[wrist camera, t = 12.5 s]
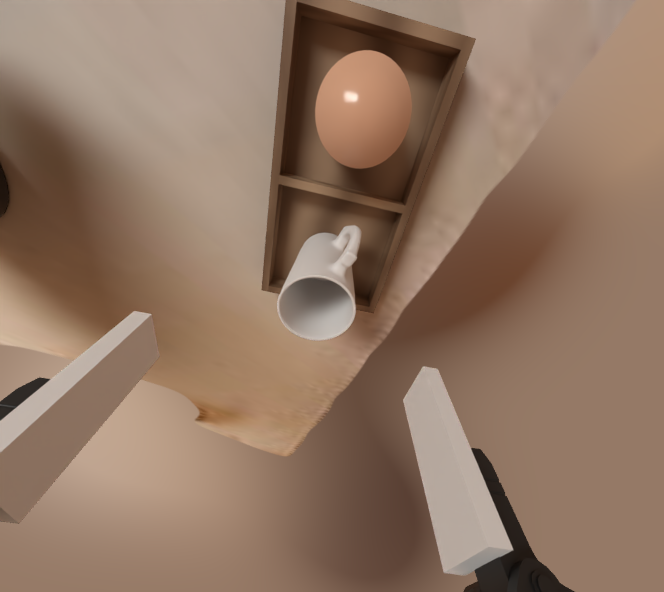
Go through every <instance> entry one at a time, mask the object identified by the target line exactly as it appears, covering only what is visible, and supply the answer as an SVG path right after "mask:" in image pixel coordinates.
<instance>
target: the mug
mask: <svg viewBox="0 0 664 592" xmlns="http://www.w3.org/2000/svg"><path fill="white" fill-rule="evenodd" d="M360 241H361V229H360V228H359V227H357V226H355V225H351V226H345V227H344V228H343V229H342V231H341V232H340V234H339V235H338V236H337V235H334V234H331V233H318V234H315V235H313V236H311V237H310V238H309V239H307V240H306V242H305V243H304V244H303V246H302V248H301V250H300V252H299V254H298V256H297V258H296V260H295V263H294V265H293V267H292V269H291V271H290V273H289V275H288V277H287V279H286V281H285V283H284V285H283V288H282V290H281V293H280V295H279V297H278V302H277V310H278V315H279V317H280V319H281V321H282V323H283V324H284V326H285V327H286V328H287V329H288V330H289V331H291V332H292V333H293V334H295V335H297V336H299V337H301V338H304V339H308V340H314V341H322V340H329V339H332V338H335V337H337V336H339V335H341V334H343V333H344V332H345V331H346V330H347V329H348V328H349V327H350V326H351V324H352V323H353V321H354V318H355V314H356V304H355V292H354V283H353V274H352V264H353V263H354V262H355V261H356V259H357V253H358V249H359V246H360Z"/></svg>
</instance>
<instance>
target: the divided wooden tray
mask: <svg viewBox="0 0 664 592" xmlns="http://www.w3.org/2000/svg"><path fill="white" fill-rule="evenodd" d="M475 40H476V39H475V38H471V37H468V36H465V35H461V34H458V33H455V32H451V31H448V30H445V29H441V28H438V27H435V26H431V25H428V24H425V23H421V22H418V21H415V20H411V19H408V18H405V17H401V16H398V15H395V14H391V13H388V12H385V11H381V10H378V9H375V8H371V7H368V6H365V5H361V4H358V3H355V2H351V1H348V0H286V4H285V16H284V28H283V40H282V52H281V64H280V76H279V88H278V100H277V112H276V124H275V136H274V148H273V160H272V172H271V184H270V196H269V208H268V220H267V232H266V244H265V256H264V268H263V280H262V290H264V291H268V292H273V293H278V294H280V293H281V290H282V288H283V285H284V283H285V281H286V279H287V277H288V275H289V273H290V271H291V269H292V267H293V265H294V263H295V260H296V258H297V256H298V254H299V252H300V250H301V248H302V246H303V244H304V243H305V242H306V240H307V239H309V238H310V237H311V236H313V235H315V234H318V233H331V234H334V235H337V236H338V235H339V234H340V232H341V231H342V229H343V228H344V227H345V226H351V225H355V226H357V227H359V228H360V229H361V241H360V246H359V249H358V253H357V259H356V261H355V262H354V263H353V264H352V274H353V283H354V292H355V304H356V310H361V311H365V312H370V313H374V310H375V308H376V305H377V302H378V300H379V297H380V294H381V292H382V289H383V286H384V284H385V281H386V278H387V276H388V273H389V270H390V268H391V265H392V262H393V260H394V257H395V254H396V252H397V249H398V246H399V243H400V241H401V238H402V235H403V233H404V230H405V227H406V225H407V222H408V219H409V217H410V214H411V211H412V209H413V206H414V203H415V201H416V198H417V195H418V193H419V190H420V187H421V185H422V182H423V179H424V177H425V174H426V171H427V168H428V166H429V163H430V160H431V158H432V155H433V152H434V150H435V147H436V144H437V142H438V139H439V136H440V134H441V131H442V128H443V126H444V123H445V120H446V118H447V115H448V112H449V110H450V107H451V104H452V101H453V99H454V96H455V93H456V91H457V88H458V85H459V83H460V80H461V77H462V75H463V72H464V69H465V67H466V64H467V61H468V59H469V56H470V53H471V51H472V48H473V45H474V43H475ZM363 50H371V51H376V52H380V53H382V54H384V55H386V56H388V57H389V58H391V59H392V60H393V61H394V62H396V64H397V65H398V66H399V67H400V68H401V70H402V71H403V73H404V75H405V77H406V79H407V81H408V84H409V87H410V92H411V99H412V113H411V120H410V124H409V128H408V130H407V133H406V135H405V137H404V139H403V141H402V143H401V144H400V146H399V147H398V149H397V150H396V151H395V152H394V153H393V154H392V155H391V156H390V157H389V158H388V159H386V160H385V161H384V162H382V163H380V164H378V165H376V166H373V167H369V168H363V169H358V168H351V167H348V166H345V165H343V164H341V163H339V162H338V161H336V160H335V159H334V158H333V157H332V156H331V155H330V154H329V153H328V152H327V150H326V149H325V147H324V146H323V144H322V142H321V140H320V137H319V134H318V131H317V127H316V120H315V107H316V100H317V95H318V92H319V89H320V86H321V84H322V82H323V80H324V78H325V76H326V75H327V73H328V72H329V70H330V69H331V68H332V67H333V66H334V65H335V64H336V63H337V62H338V61H339V60H341V59H342V58H343V57H345V56H347V55H349V54H351V53H354V52H357V51H363Z"/></svg>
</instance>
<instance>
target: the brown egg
mask: <svg viewBox="0 0 664 592" xmlns="http://www.w3.org/2000/svg"><path fill="white" fill-rule="evenodd" d="M411 113H412V99H411V92H410V87H409V84H408V81H407V79H406V77H405V75H404V73H403V71H402V70H401V68H400V67H399V66H398V65H397V64H396V62H394V61H393V60H392V59H391V58H389V57H388V56H386V55H384V54H382V53H380V52H376V51H371V50H363V51H357V52H354V53H351V54H349V55H347V56H345V57H343V58H342V59H341V60H339V61H338V62H337V63H336V64H335V65H334V66H333V67H332V68H331V69H330V70H329V72H328V73H327V75H326V76H325V78H324V80H323V82H322V84H321V86H320V89H319V92H318V95H317V100H316V107H315V120H316V127H317V131H318V134H319V137H320V140H321V142H322V144H323V146H324V147H325V149H326V150H327V152H328V153H329V154H330V155H331V156H332V157H333V158H334V159H335V160H336V161H338V162H339V163H341V164H343V165H345V166H348V167H351V168H358V169H363V168H369V167H373V166H376V165H378V164H380V163H382V162H384V161H385V160H386V159H388V158H389V157H390V156H391V155H392V154H393V153H394V152H395V151H396V150H397V149H398V147H399V146H400V144H401V143H402V141H403V139H404V137H405V135H406V133H407V130H408V128H409V124H410V120H411Z"/></svg>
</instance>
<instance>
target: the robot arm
mask: <svg viewBox="0 0 664 592" xmlns="http://www.w3.org/2000/svg"><path fill="white" fill-rule="evenodd" d="M7 204H8V188H7V183H6V180H5V177H4V174H3V172H2V169H1V167H0V217H1V216H2V215H3V213H4V212H5V210H6V208H7ZM159 357H160V356H159V350H158V345H157V339H156V334H155V329H154V323H153V318H152V314H149V313H143V312H138V311H133V312H132V313H131V314H130V315H129V316H127V317H126V318H125V319H124V320H122V321H121V322H120V323H119V324H118V325H116V326H115V327H114V328H113V329H111V330H110V331H109V332H108V333H107V334H105V335H104V336H103V337H102V338H101V339H99V340H98V341H97V342H96V343H94V344H93V345H92V346H91V347H90V348H88V349H87V350H86V351H85V352H83V353H82V354H81V355H80V356H79V357H77V358H76V359H75V360H74V361H73V362H71V363H70V364H69V365H68V366H66V367H65V368H64V369H63V370H62V371H60V372H59V373H58V374H57V375H56V376H54V377H53V378H52V379H45V378H37V379H36V380H34V381H32V382H30V383H28V384H26V385H24V386H22V387H20V388H18V389H16V390H15V391H14V392H12V393H11V394H10V395H8V396H7V397H6V398H4V399H3V400H2V401H1V402H0V521H1V522H10V523H18V524H19V523H20V522H21V521H22V520H23V518H24V517H25V516H26V515H27V514H28V512H29V511H30V510H31V509H32V508H33V507H34V505H35V504H36V503H37V502H38V501H39V499H40V498H41V497H42V496H43V494H44V493H45V492H46V491H47V490H48V489H49V488H50V486H51V485H52V484H53V482H55V480H56V479H57V478H58V477H59V476H60V474H61V473H62V472H63V471H64V470H65V469H66V467H67V466H68V465H69V464H70V463H71V461H72V460H73V459H74V458H75V457H76V455H77V454H78V453H79V452H80V451H81V450H82V448H83V447H84V446H85V445H86V444H87V442H88V441H89V440H90V439H91V438H92V436H93V435H94V434H95V433H96V432H97V431H98V429H99V428H100V427H101V426H102V424H103V423H104V422H105V421H106V420H107V419H108V417H109V416H110V415H111V414H112V413H113V411H114V410H115V409H116V408H117V407H118V406H119V404H120V403H121V402H122V401H123V400H124V398H125V397H126V396H127V395H128V394H129V392H130V391H131V390H132V389H133V388H134V387H135V385H136V384H137V383H138V382H139V380H140V379H141V378H142V377H143V376H144V375H145V374H146V372H147V371H148V370H149V369H150V368H151V366H152V365H153V364H154V363H155V362H156V360H157V359H158V358H159ZM403 402H404V406H405V409H406V414H407V419H408V423H409V427H410V431H411V436H412V439H413V444H414V448H415V452H416V457H417V461H418V465H419V469H420V474H421V478H422V482H423V486H424V490H425V495H426V498H427V503H428V507H429V512H430V515H431V520H432V524H433V528H434V533H435V537H436V541H437V545H438V550H439V553H440V558H441V562H442V566H443V571H444V573H449V574H458V575H467V574H469V573H471V572H473V571H475V573H476V577H477V580H478V581H477V582H475V583H473V584H471V585H469V586H467V587H466V588H465V590H464V592H574V591H572V590H571V589H569V588H567V587H565V586H564V585H562V584H561V583H559V581H558V579H557V578H556V577H555V575H554V574H553V573H552V572H551V571H550V570H549V569H548V568H547V567H546V566H544V565H543V564H542V563H541V562H539V561H538V560H537V558H536V557H535V555H534V553H533V552H532V550H531V548H530V546H529V544H528V541H527V539H526V537H525V535H524V533H523V531H522V528H521V526H520V524H519V522H518V520H517V518H516V515H515V513H514V512H513V509H512V507H511V505H510V503H509V500H508V498H507V496H505V492H504V489H503V488H502V485H501V483H499V479H498V477H497V474H496V472H495V470H494V468H493V466H492V464H491V463H490V461H489V460H488V458H487V457H486V456H485V454H484V453H483V452H482V451H481V450H480V449H475V448H470V445H469V443H468V440H467V438H466V436H465V433H464V431H463V429H462V426H461V424H460V421H459V419H458V417H457V414H456V412H455V410H454V407H453V405H452V403H451V400H450V398H449V395H448V393H447V391H446V388H445V386H444V383H443V381H442V378H441V376H440V374H439V372H438V369H435V368H429V367H425V366H423V367H422V369H421V371H420V373H419V374H418V376H417V378H416V379H415V381H414V383H413V384H412V386H411V388H410V389H409V391H408V393H407V394H406V396H405V398H404V399H403Z"/></svg>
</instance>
